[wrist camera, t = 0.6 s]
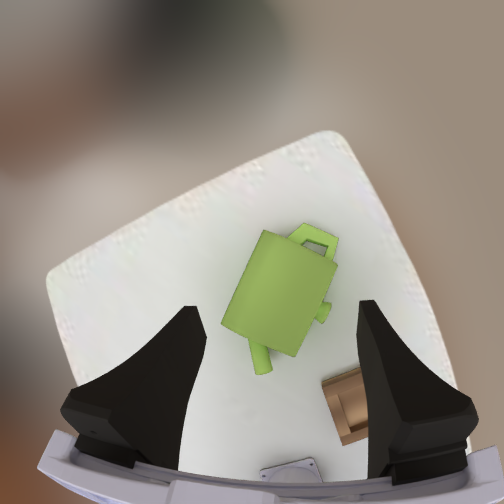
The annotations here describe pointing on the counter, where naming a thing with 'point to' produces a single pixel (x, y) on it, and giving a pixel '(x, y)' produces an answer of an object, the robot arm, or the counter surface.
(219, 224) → the counter surface
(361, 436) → the pocket block
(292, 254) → the gearbox
